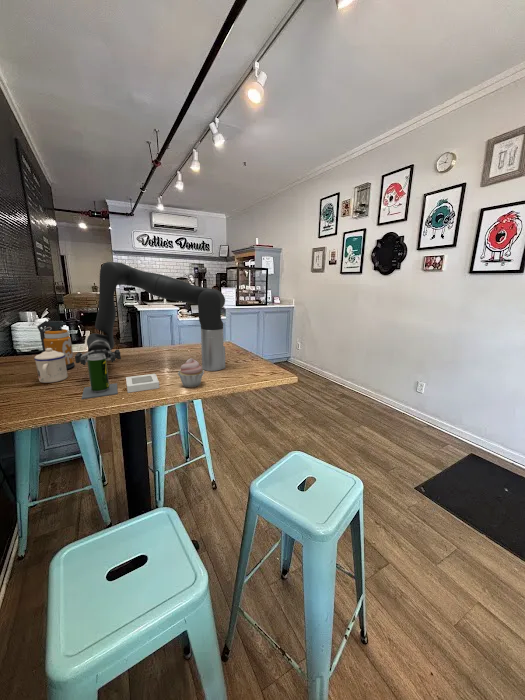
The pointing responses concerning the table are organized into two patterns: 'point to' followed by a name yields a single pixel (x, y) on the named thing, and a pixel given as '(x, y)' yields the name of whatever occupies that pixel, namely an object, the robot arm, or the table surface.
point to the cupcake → (191, 373)
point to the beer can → (98, 372)
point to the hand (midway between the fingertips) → (98, 360)
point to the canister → (57, 339)
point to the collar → (142, 386)
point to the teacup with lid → (51, 366)
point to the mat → (90, 394)
